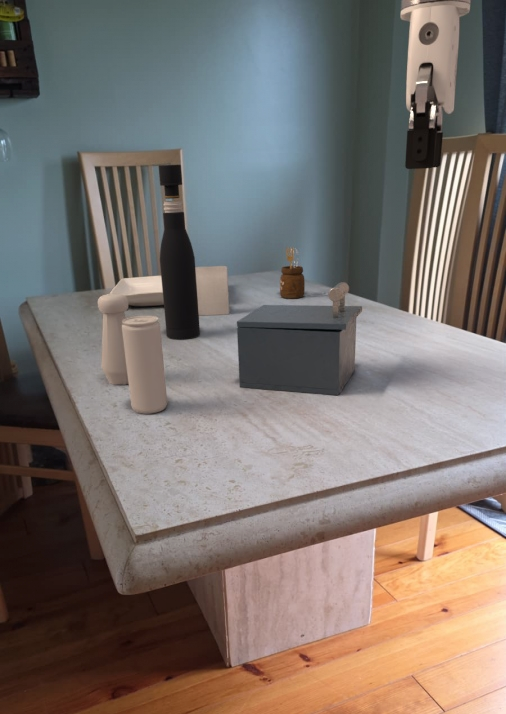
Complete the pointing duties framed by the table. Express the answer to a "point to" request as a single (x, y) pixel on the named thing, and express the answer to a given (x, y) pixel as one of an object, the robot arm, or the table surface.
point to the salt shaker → (113, 337)
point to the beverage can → (145, 363)
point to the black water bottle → (177, 263)
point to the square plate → (141, 290)
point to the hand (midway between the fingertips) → (423, 167)
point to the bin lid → (306, 314)
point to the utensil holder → (292, 279)
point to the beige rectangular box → (212, 290)
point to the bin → (296, 358)
